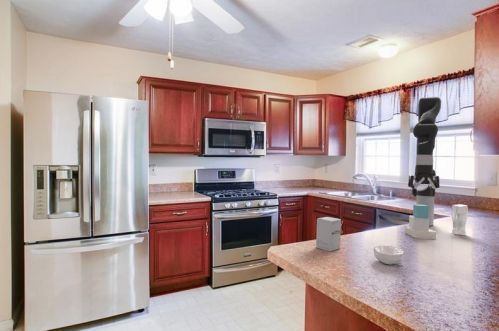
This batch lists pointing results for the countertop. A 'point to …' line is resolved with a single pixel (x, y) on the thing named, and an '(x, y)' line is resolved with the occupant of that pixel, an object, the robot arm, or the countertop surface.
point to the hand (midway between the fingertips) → (423, 196)
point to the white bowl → (388, 254)
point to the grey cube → (419, 223)
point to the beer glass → (459, 219)
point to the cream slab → (420, 233)
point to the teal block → (420, 211)
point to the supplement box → (328, 233)
